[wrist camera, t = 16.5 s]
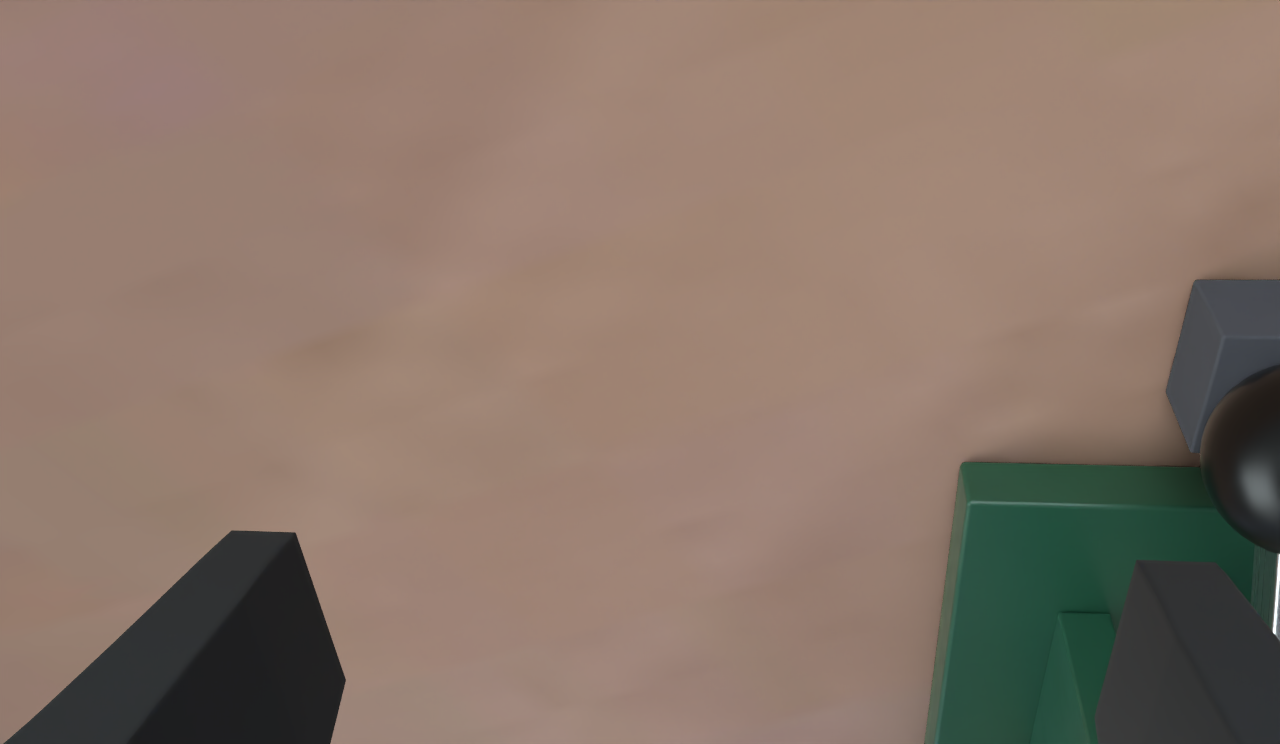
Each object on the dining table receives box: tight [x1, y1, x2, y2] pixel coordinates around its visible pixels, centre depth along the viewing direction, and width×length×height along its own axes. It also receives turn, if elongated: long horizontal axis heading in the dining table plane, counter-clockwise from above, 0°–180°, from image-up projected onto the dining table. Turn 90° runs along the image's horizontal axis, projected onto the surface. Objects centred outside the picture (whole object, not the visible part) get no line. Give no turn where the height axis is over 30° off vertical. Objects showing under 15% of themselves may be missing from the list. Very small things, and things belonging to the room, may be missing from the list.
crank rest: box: [1166, 280, 1280, 453], centre depth 19 cm, size 2×2×2 cm
